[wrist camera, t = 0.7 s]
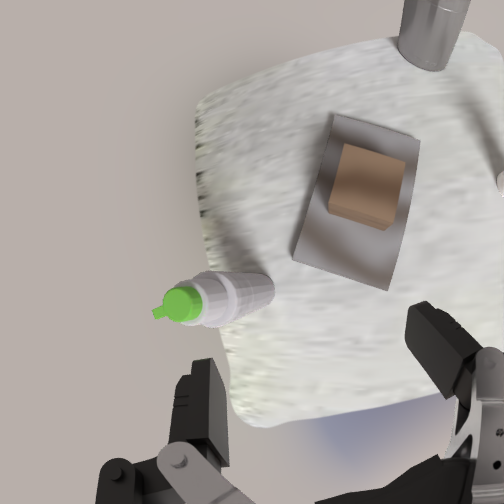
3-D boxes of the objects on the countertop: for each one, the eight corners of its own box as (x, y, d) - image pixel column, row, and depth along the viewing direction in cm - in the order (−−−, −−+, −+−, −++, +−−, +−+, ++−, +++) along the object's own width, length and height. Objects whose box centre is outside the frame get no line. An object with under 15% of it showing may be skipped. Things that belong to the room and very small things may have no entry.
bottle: (240, 274, 36) (145, 269, 17) (274, 272, 35) (208, 266, 16) (242, 308, 36) (149, 338, 17) (276, 307, 35) (212, 342, 15)
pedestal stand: (335, 120, 35) (334, 93, 28) (417, 145, 31) (430, 122, 25) (293, 260, 35) (285, 256, 28) (385, 290, 31) (397, 293, 25)
